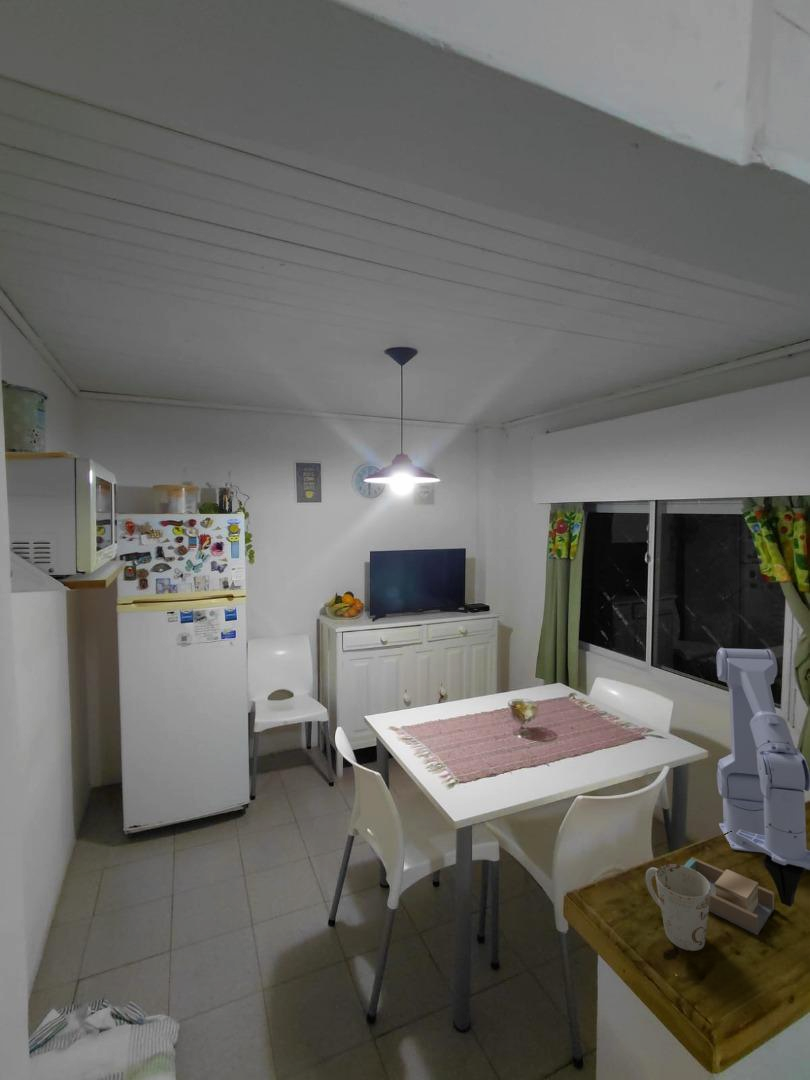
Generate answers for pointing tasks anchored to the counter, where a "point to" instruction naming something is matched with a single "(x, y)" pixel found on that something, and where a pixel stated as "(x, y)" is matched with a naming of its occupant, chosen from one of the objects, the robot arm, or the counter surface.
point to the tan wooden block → (737, 890)
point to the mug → (682, 904)
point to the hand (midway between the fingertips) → (787, 902)
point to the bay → (728, 909)
